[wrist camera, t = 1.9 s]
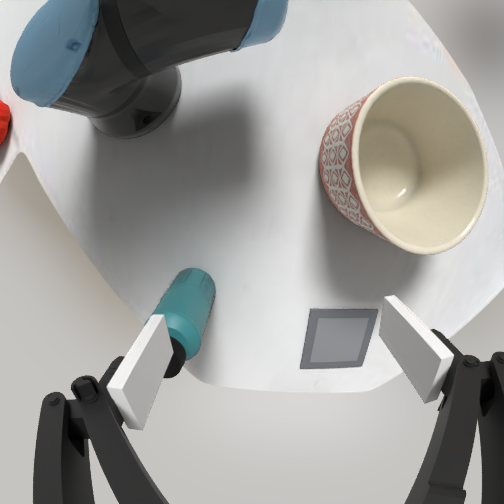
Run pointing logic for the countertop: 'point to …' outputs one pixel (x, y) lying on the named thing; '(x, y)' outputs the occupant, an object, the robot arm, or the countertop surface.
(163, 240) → the countertop surface
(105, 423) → the robot arm
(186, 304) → the beverage bottle
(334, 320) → the slate mat
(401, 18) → the countertop surface
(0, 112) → the tomato
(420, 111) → the planter
